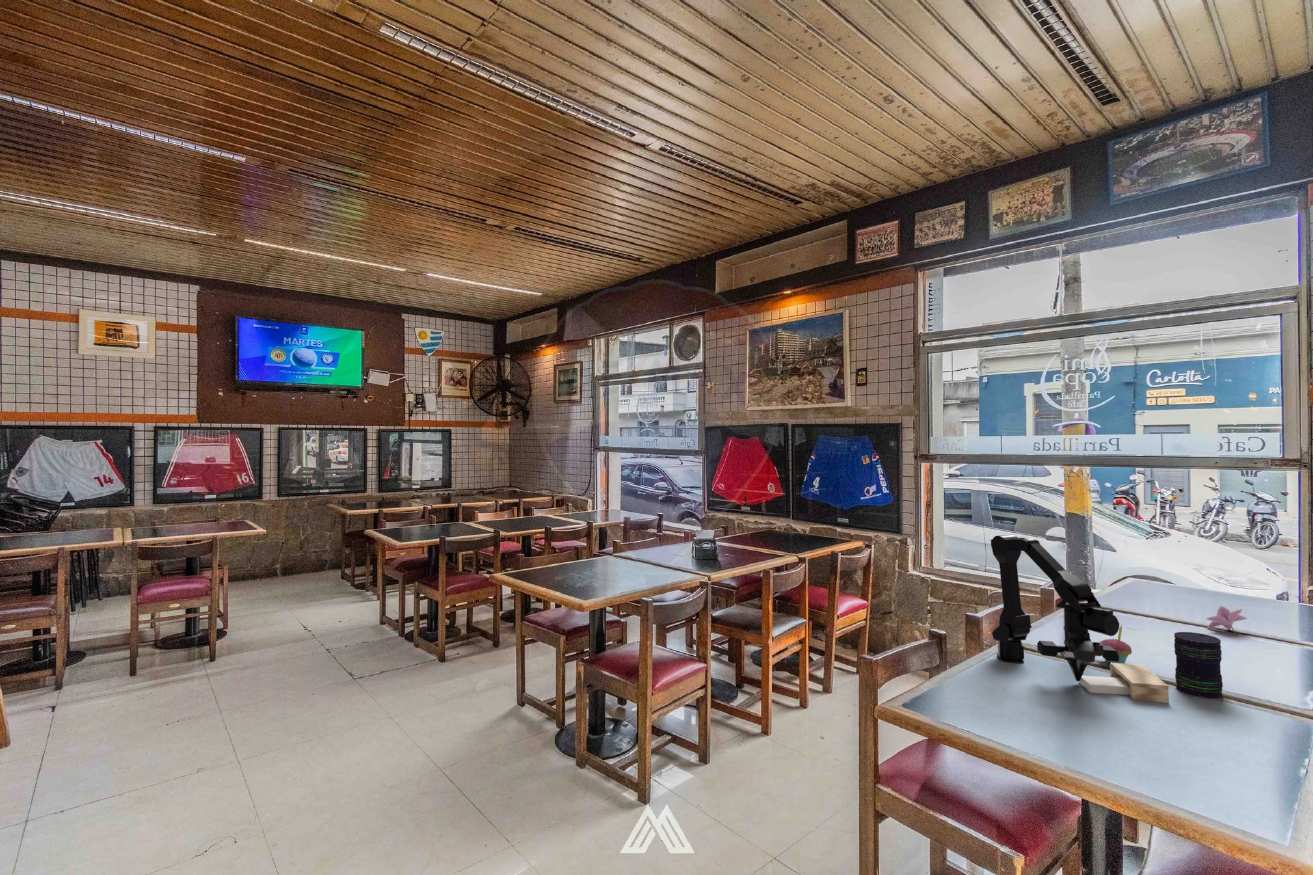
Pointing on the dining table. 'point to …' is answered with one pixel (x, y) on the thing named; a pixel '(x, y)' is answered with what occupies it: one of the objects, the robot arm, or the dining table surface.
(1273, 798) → the dining table surface
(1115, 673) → the beige block
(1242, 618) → the lily
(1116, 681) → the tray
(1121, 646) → the cupcake
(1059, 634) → the dining table surface
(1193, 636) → the black disc stack
